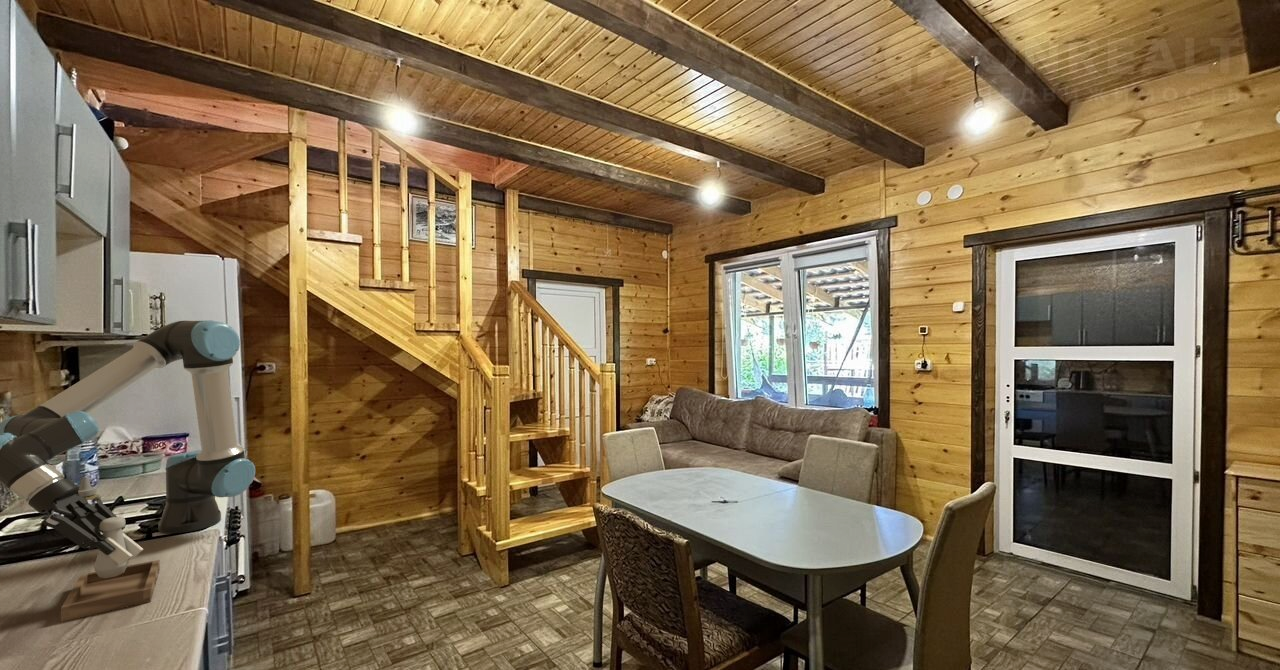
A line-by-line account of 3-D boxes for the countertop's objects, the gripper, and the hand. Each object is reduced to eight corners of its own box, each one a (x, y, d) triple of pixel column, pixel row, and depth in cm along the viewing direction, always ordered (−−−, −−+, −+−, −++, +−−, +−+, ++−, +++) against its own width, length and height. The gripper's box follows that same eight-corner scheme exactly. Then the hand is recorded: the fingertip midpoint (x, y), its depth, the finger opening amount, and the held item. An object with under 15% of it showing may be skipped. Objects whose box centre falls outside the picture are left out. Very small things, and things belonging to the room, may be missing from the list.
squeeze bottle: (92, 541, 155) (92, 479, 155) (57, 544, 152) (57, 481, 152) (111, 531, 163) (111, 472, 162) (77, 534, 160) (77, 474, 160)
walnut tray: (81, 586, 128) (81, 574, 128) (159, 571, 137) (159, 559, 137) (61, 621, 113) (61, 607, 113) (150, 601, 121) (150, 588, 121)
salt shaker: (106, 581, 121) (107, 523, 121) (87, 578, 122) (87, 521, 122) (135, 570, 127) (136, 515, 126) (117, 567, 128) (117, 513, 128)
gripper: (62, 491, 129) (142, 555, 132) (-2, 513, 113) (91, 585, 117) (88, 468, 130) (167, 532, 133) (29, 487, 114) (120, 559, 118)
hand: (132, 556), depth 125 cm, fingers closed on salt shaker, 3 cm apart
